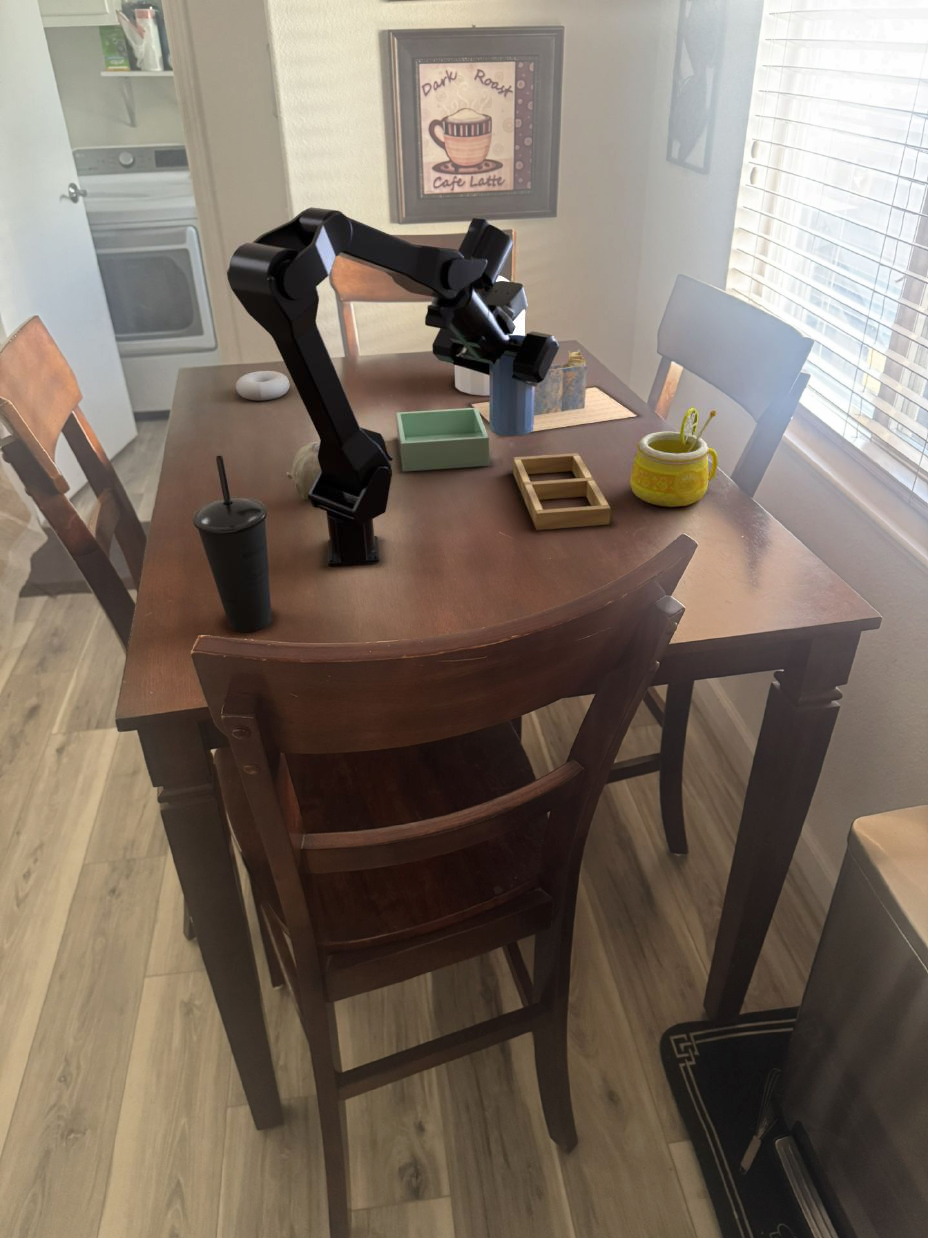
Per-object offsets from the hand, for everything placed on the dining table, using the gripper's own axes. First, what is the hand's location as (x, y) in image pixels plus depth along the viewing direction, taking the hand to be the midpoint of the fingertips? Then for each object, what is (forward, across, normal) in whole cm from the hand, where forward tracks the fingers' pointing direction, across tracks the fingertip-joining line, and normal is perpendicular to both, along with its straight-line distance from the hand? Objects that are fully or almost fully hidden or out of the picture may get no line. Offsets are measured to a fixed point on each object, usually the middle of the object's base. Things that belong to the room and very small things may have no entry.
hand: (517, 379), depth 126 cm
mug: (+13, -25, +6) cm, 29 cm away
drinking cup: (-28, -2, +48) cm, 55 cm away
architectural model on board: (+26, +9, -7) cm, 28 cm away
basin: (+7, +12, +12) cm, 19 cm away
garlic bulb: (-9, +15, +28) cm, 33 cm away
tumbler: (+4, 0, +6) cm, 7 cm away
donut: (+8, +58, +11) cm, 60 cm away
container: (+29, +27, -10) cm, 41 cm away
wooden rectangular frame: (+6, -12, +14) cm, 19 cm away
